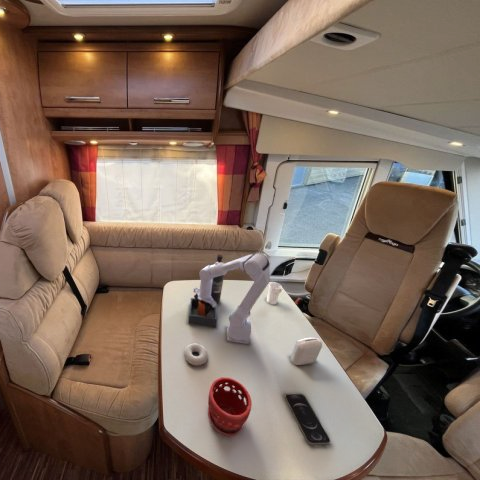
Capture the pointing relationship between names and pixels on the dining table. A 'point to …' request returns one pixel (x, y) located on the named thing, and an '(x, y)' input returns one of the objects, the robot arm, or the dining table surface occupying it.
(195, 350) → the donut
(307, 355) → the photo printer
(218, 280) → the wine bottle
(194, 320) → the tote
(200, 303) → the terracotta cup
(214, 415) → the flower pot
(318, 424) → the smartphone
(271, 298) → the cup
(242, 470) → the dining table surface
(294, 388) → the dining table surface
